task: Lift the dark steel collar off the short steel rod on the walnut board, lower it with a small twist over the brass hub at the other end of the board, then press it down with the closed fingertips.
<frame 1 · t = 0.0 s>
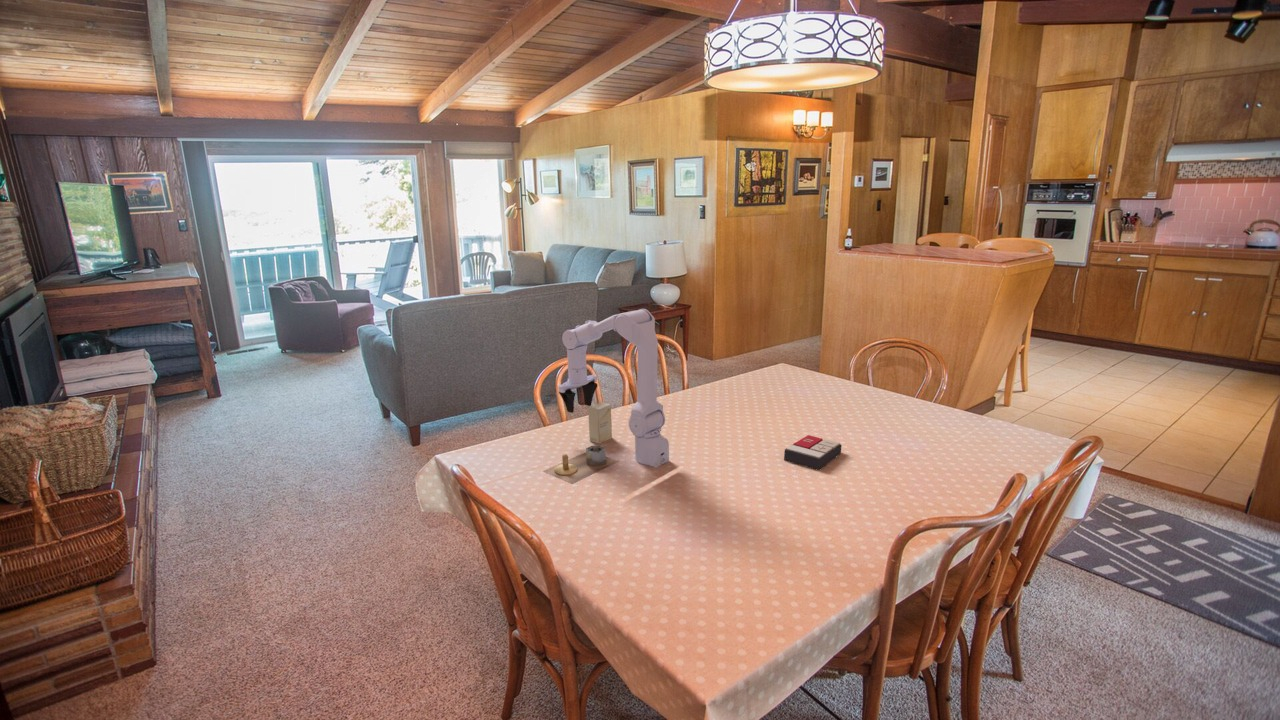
hand: (579, 408, 195), 10 cm above the table, tool pointing down, fingers open, 7 cm apart
skincare box: (601, 442, 195), on the table
board: (581, 469, 176), on the table
calculator: (812, 458, 181), on the table
collar: (596, 462, 178), point 1 cm above the table, touching board
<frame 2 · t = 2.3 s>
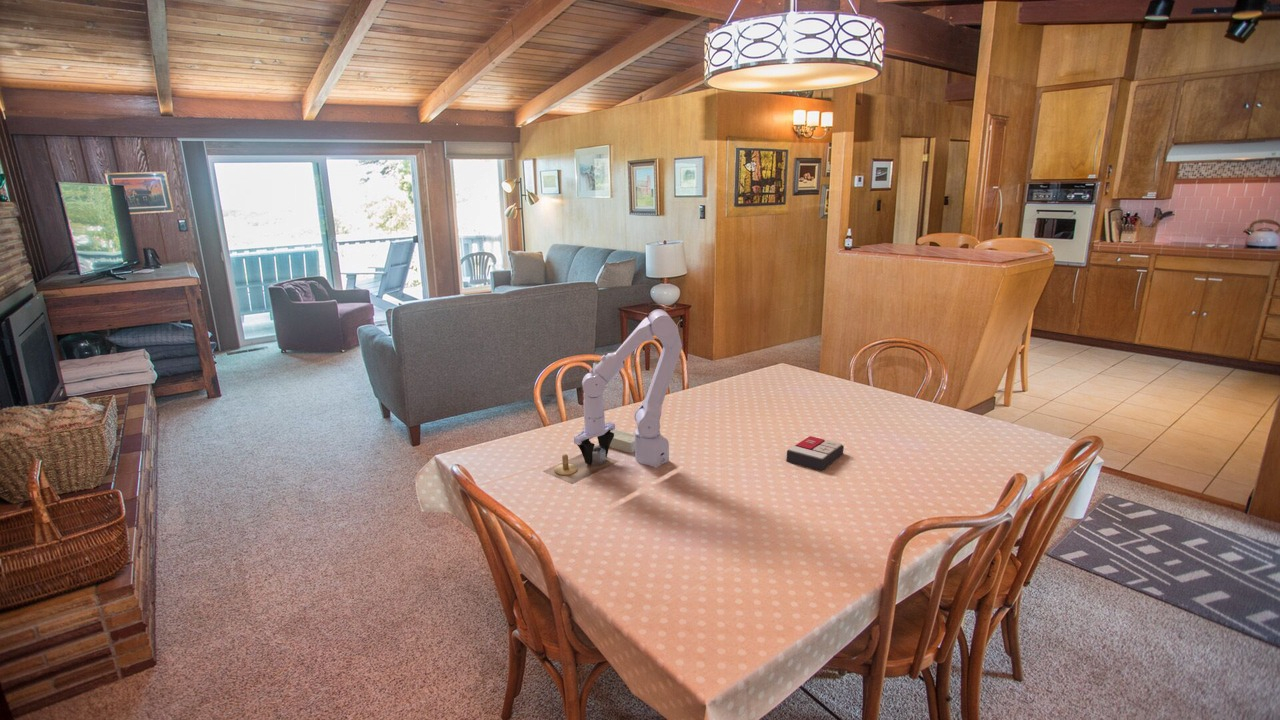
hand: (596, 460, 178), 2 cm above the table, tool pointing down, fingers closed on collar, 5 cm apart
skincare box: (606, 436, 193), point 2 cm above the table
collar: (596, 462, 178), point 1 cm above the table, touching board, gripper
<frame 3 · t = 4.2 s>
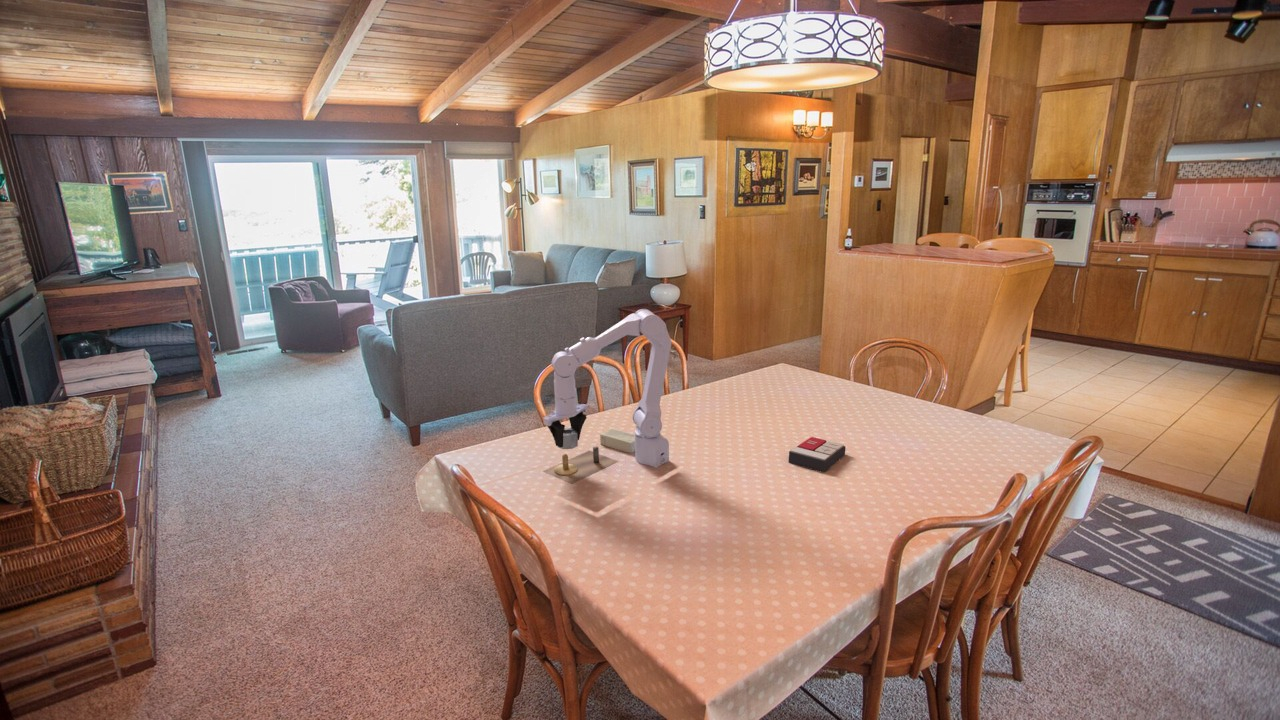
hand: (567, 442, 172), 9 cm above the table, tool pointing down, fingers closed on collar, 5 cm apart
collar: (567, 445, 172), point 8 cm above the table, touching gripper
when the fingers open (4 cm above the table, at t = 6.1 s): collar drops 1 cm, resting on board.
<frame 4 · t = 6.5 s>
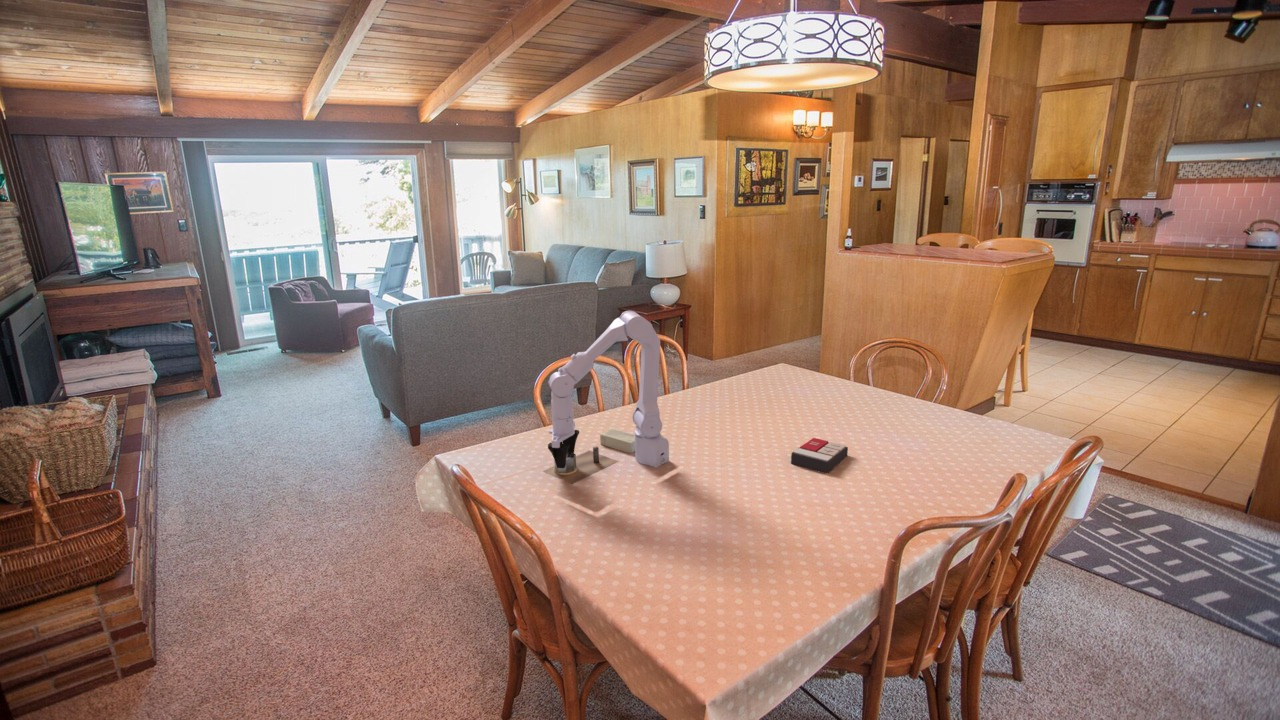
hand: (565, 461, 173), 4 cm above the table, tool pointing down, fingers open, 7 cm apart
collar: (565, 468, 173), point 1 cm above the table, touching board
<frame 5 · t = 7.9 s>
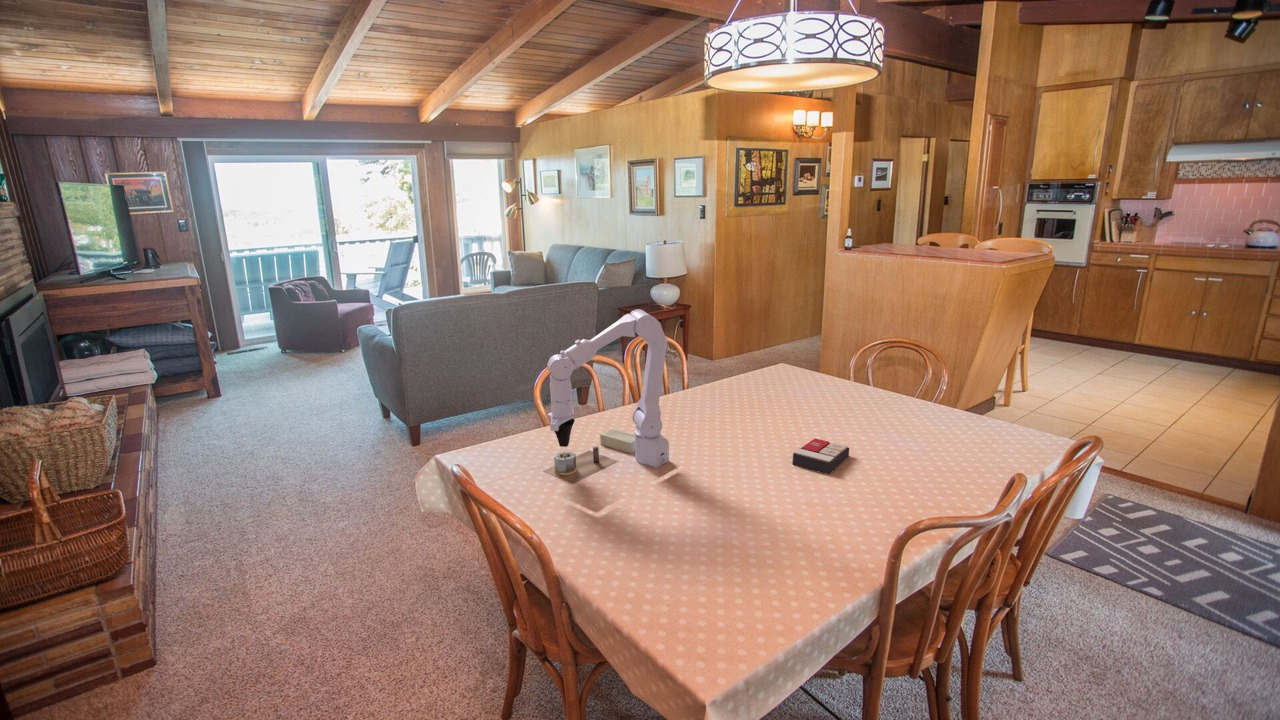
hand: (564, 445, 171), 8 cm above the table, tool pointing down, fingers closed
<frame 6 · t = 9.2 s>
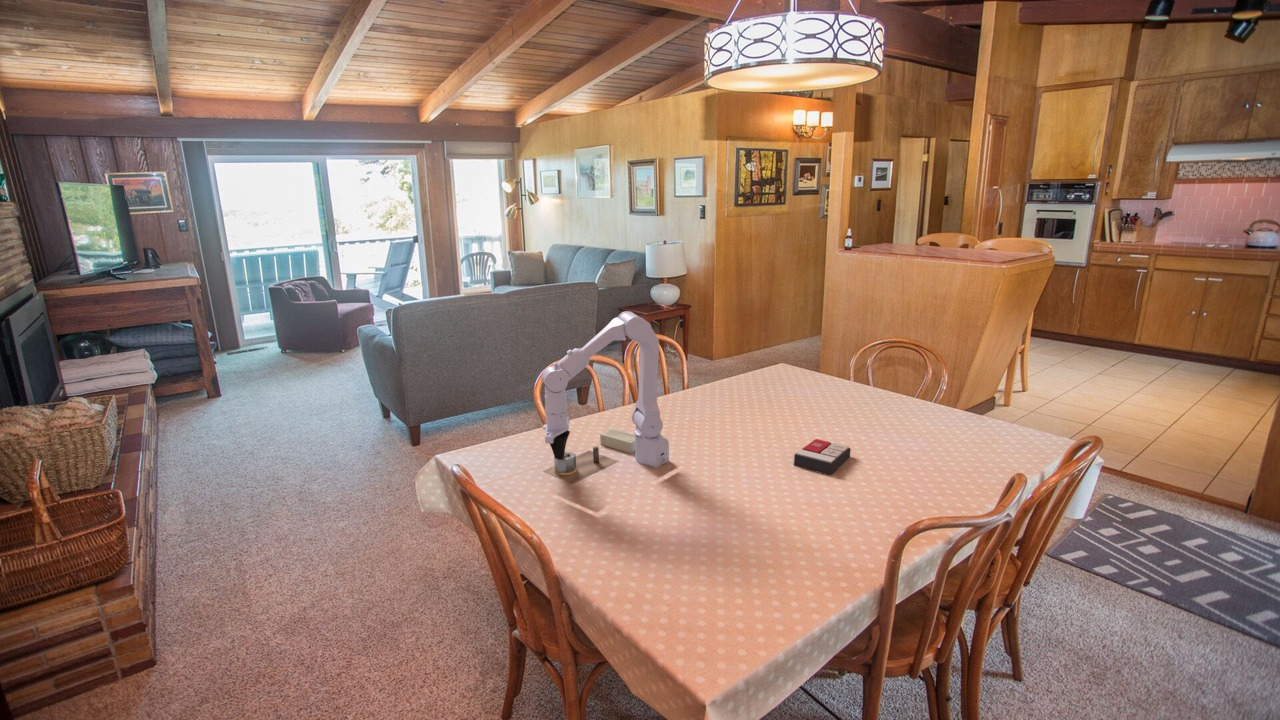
hand: (559, 457, 171), 6 cm above the table, tool pointing down, fingers closed
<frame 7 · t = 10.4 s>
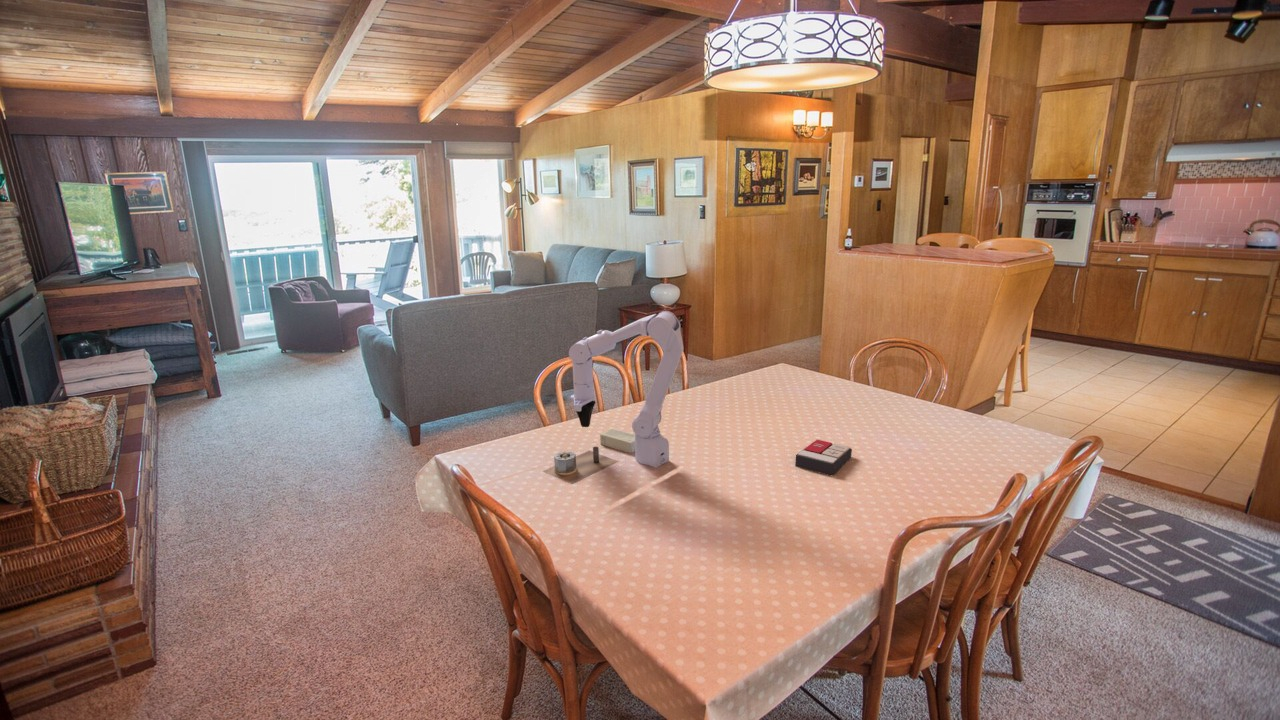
hand: (585, 426, 182), 9 cm above the table, tool pointing down, fingers closed
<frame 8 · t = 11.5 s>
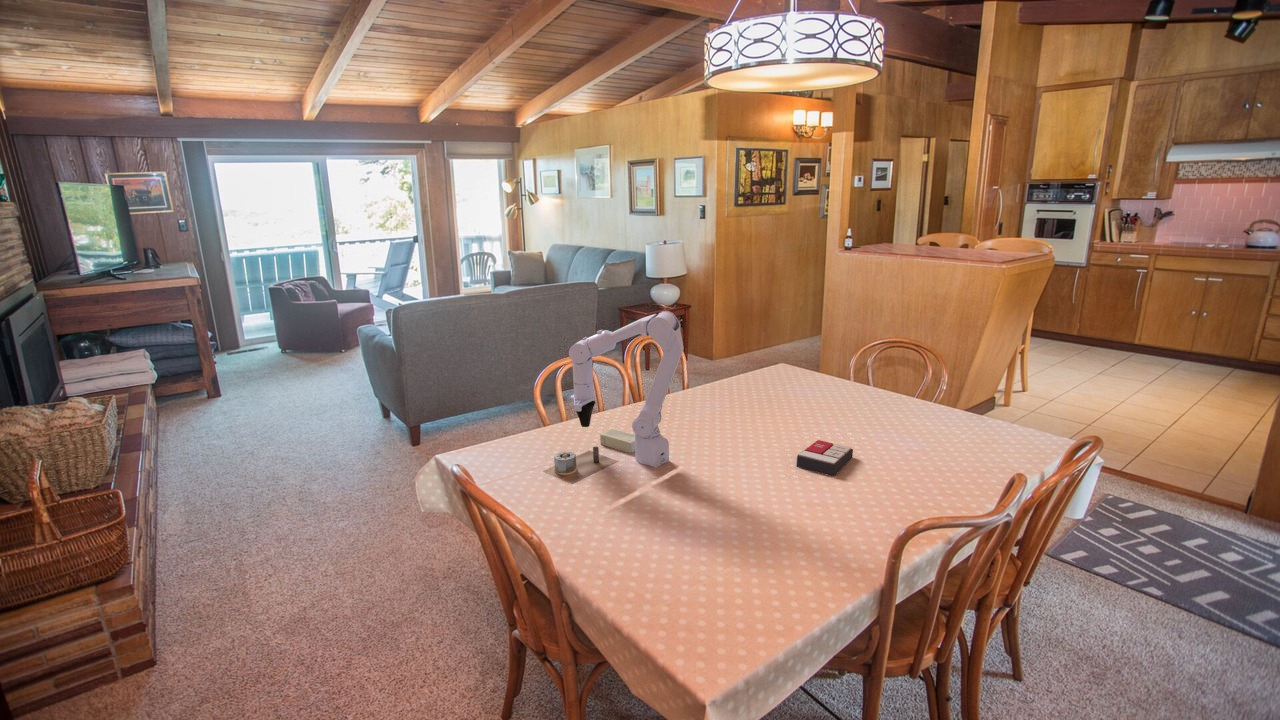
hand: (585, 426, 182), 9 cm above the table, tool pointing down, fingers closed
at the end: collar 0.0 cm from the target spot on the board, point 1.4 cm above the board's base; collar tilted 0°; the gripper is holding nothing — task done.
